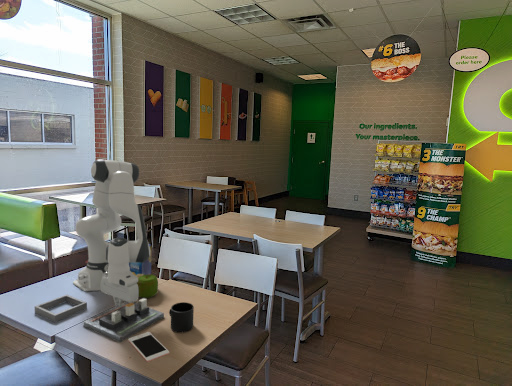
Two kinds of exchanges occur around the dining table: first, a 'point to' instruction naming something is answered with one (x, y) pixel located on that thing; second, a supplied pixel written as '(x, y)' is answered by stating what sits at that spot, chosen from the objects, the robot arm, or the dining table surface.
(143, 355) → the cell phone
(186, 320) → the mug
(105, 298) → the dining table surface
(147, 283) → the apple
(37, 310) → the deck corral
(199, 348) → the dining table surface
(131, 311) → the block
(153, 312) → the panel
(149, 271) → the beverage box
